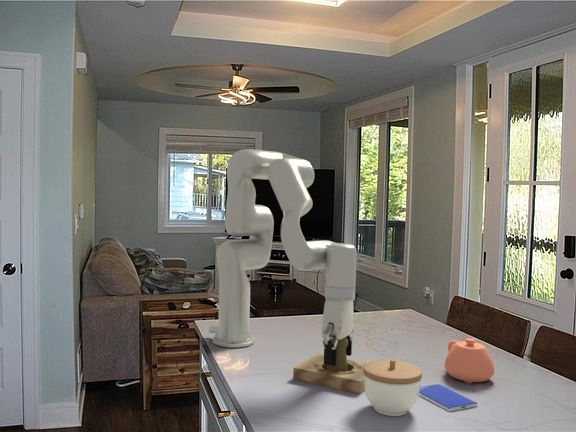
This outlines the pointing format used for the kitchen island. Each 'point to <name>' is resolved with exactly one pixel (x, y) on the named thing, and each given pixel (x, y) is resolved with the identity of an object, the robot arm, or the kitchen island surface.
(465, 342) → the sugar bowl
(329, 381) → the holder board
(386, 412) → the lidded bowl
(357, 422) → the kitchen island surface
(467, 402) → the hard drive
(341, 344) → the cork
